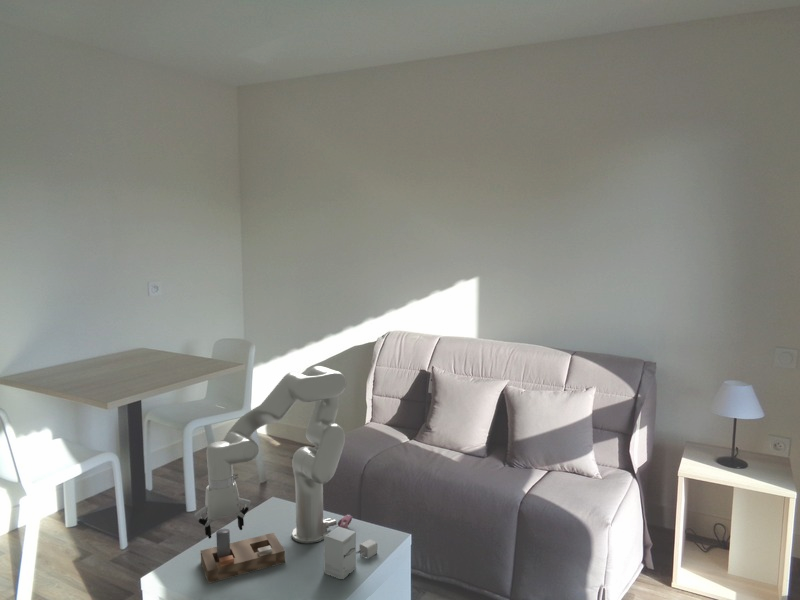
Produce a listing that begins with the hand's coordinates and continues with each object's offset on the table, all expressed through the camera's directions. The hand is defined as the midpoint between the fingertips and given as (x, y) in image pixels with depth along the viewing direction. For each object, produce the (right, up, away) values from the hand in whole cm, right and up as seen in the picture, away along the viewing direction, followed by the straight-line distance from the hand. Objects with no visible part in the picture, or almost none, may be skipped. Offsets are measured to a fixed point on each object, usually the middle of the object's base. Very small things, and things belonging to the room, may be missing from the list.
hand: (225, 532), depth 185 cm
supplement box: (+37, -12, -1) cm, 39 cm away
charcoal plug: (0, -12, +1) cm, 12 cm away
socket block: (+5, -11, +4) cm, 13 cm away
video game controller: (+35, -9, +23) cm, 43 cm away
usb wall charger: (+44, -11, +7) cm, 46 cm away
